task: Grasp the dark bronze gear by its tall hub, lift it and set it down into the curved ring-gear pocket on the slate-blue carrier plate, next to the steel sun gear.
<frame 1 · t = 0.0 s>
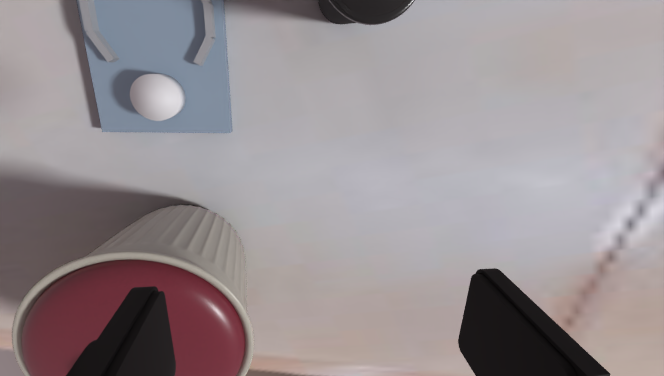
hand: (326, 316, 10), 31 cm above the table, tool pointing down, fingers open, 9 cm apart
carrier plate: (161, 44, 34), on the table
canister: (191, 246, 43), on the table
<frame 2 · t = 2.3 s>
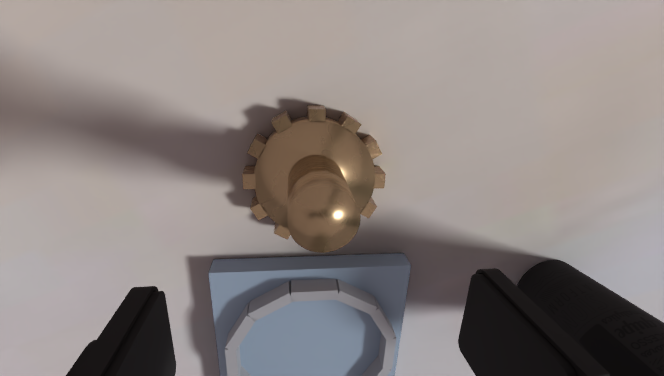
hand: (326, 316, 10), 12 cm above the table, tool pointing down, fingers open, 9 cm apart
bronze gear: (313, 173, 21), on the table
drinking cup: (542, 284, 27), on the table
carrier plate: (310, 352, 26), on the table
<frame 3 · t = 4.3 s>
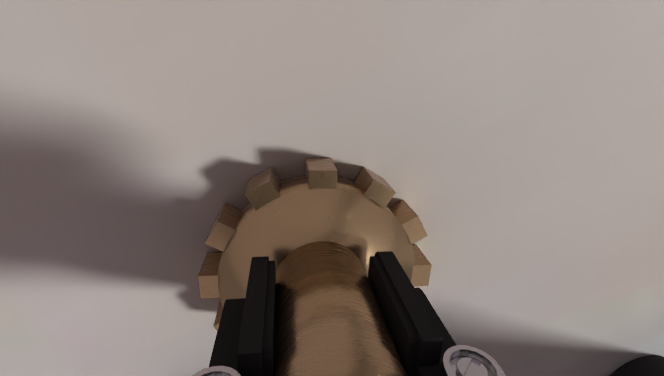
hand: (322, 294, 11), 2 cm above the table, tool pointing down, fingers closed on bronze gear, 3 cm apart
bronze gear: (316, 258, 13), on the table, touching gripper
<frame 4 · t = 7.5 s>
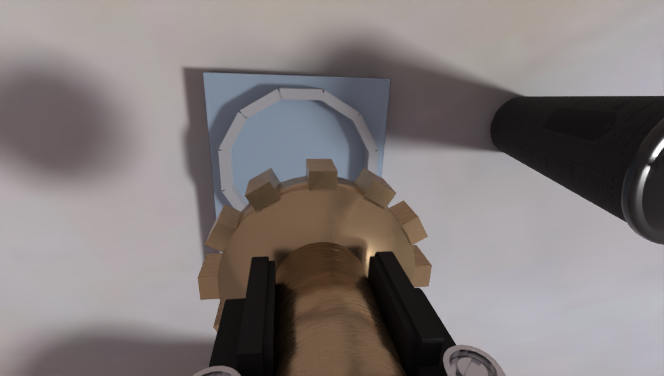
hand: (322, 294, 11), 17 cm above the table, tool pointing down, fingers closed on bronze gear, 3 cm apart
bronze gear: (316, 259, 13), point 15 cm above the table, touching gripper
drinking cup: (515, 125, 29), on the table
carrier plate: (299, 186, 28), on the table
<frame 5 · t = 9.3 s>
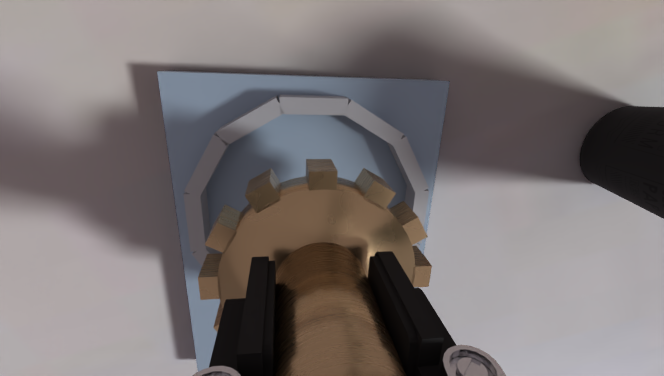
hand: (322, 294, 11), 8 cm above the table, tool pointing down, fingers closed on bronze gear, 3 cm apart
bronze gear: (316, 259, 13), point 6 cm above the table, touching gripper
drinking cup: (613, 146, 20), on the table
carrier plate: (307, 235, 19), on the table
when the fingers open (5 cm above the table, at t = 10.8 s): bronze gear stays where it is, resting on carrier plate.
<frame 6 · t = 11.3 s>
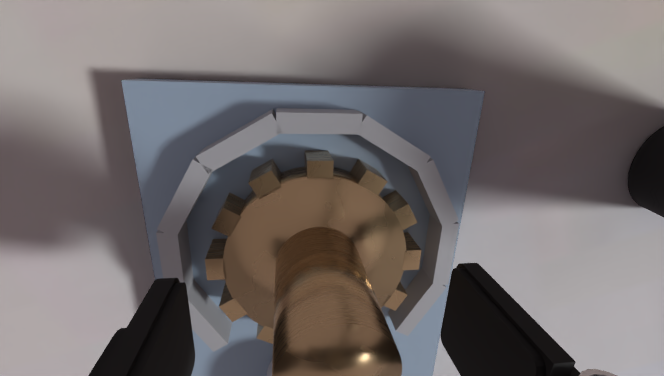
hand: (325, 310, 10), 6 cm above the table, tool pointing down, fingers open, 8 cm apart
bronze gear: (314, 245, 14), point 1 cm above the table, touching carrier plate
carrier plate: (310, 271, 16), on the table
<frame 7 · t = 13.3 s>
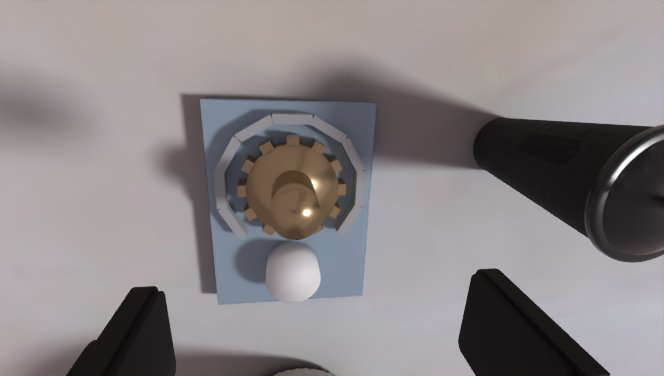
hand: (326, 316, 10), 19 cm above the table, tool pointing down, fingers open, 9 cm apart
bronze gear: (292, 184, 27), point 1 cm above the table, touching carrier plate
drinking cup: (496, 145, 30), on the table
carrier plate: (291, 204, 29), on the table
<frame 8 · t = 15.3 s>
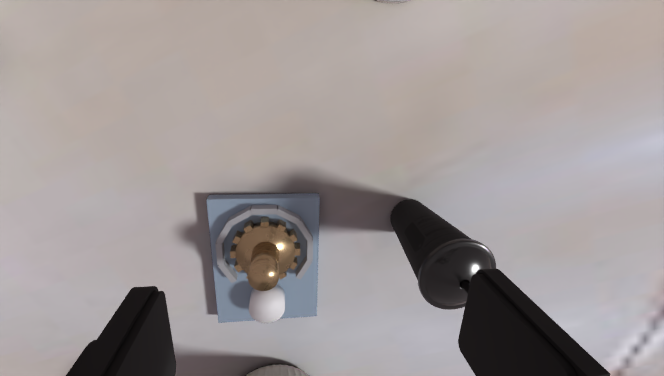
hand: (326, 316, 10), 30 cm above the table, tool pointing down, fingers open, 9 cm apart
bronze gear: (266, 247, 41), point 1 cm above the table, touching carrier plate
drinking cup: (407, 215, 44), on the table
carrier plate: (267, 256, 43), on the table
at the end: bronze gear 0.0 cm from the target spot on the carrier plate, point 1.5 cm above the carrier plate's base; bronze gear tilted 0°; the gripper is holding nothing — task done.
